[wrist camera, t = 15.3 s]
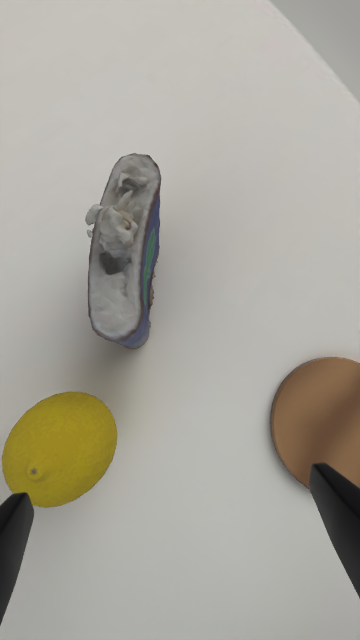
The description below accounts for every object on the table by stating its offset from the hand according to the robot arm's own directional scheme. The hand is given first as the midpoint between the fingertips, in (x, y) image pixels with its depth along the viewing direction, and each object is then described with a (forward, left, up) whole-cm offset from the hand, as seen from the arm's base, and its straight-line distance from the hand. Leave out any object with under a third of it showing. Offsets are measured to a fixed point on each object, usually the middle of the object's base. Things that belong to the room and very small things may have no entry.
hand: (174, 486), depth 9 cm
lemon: (+4, +4, -12) cm, 13 cm away
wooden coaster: (-11, -6, -11) cm, 17 cm away
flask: (+7, -7, -12) cm, 15 cm away
